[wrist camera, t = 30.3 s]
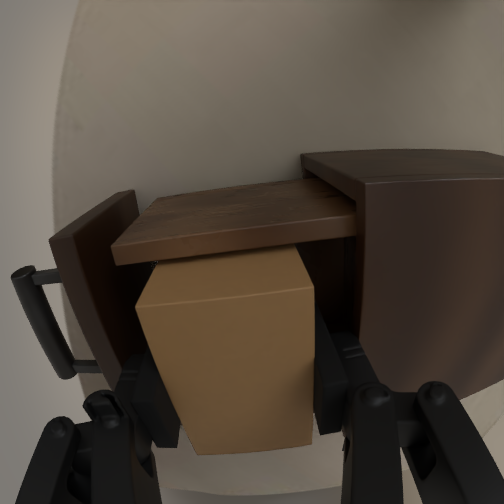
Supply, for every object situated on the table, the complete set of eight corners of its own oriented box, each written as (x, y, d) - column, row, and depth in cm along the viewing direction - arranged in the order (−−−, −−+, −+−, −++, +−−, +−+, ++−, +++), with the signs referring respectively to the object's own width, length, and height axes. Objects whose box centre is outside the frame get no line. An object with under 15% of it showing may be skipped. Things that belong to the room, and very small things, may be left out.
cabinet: (309, 331, 22) (343, 437, 14) (300, 153, 17) (364, 182, 9) (466, 298, 22) (531, 364, 14) (483, 151, 18) (581, 181, 9)
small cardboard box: (294, 363, 16) (312, 444, 11) (204, 373, 16) (197, 455, 11) (285, 223, 13) (314, 286, 8) (170, 238, 13) (134, 306, 8)
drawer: (95, 350, 21) (59, 426, 14) (44, 209, 17) (-34, 257, 10) (347, 326, 21) (386, 407, 14) (348, 162, 17) (420, 191, 10)
